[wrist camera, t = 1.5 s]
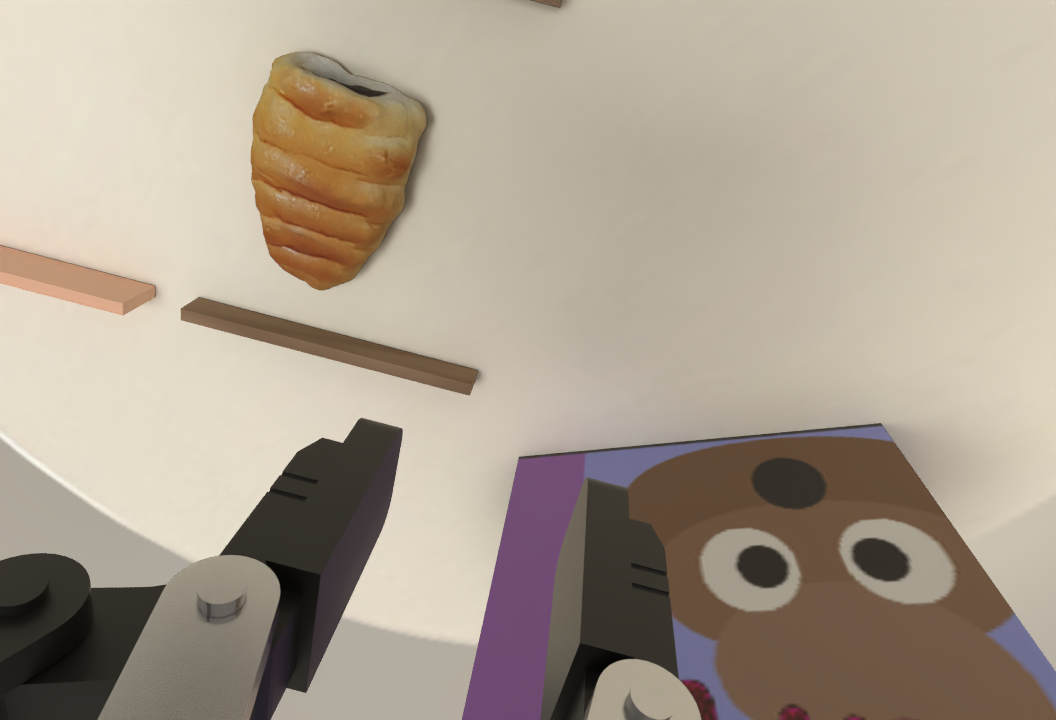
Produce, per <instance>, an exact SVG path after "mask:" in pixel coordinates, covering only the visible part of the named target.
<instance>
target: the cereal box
mask: <svg viewBox="0 0 1056 720" xmlns="http://www.w3.org/2000/svg"><path fill="white" fill-rule="evenodd" d="M586 477H588V478H592V479H596V480H599V481H603V482H607V483H611V484H615V485H619V486H622V487H626V488H627V489H628V498H629V519H633V520H637V521H641V522H645V523H648V524H651V525H652V527H653V529H654V531H655V532H656V534H657V536H658V537H659V539H660V541H661V542H662V544H663V546H664V548H665V555H666V564H667V577H668V583H669V592H670V593H669V598H670V602H671V611H672V620H673V630H674V639H675V648H676V658H677V667H678V675H679V680H680V681H681V682H682V683H683V684H684V686H685V687H686V688H687V689H688V691H689V692H690V693H691V695H692V696H693V698H694V700H695V702H696V704H697V706H698V709H699V712H700V716H701V719H702V720H1056V671H1055V670H1054V669H1053V667H1052V666H1051V664H1050V663H1049V662H1048V660H1047V659H1046V657H1045V656H1044V655H1043V653H1042V652H1041V650H1040V649H1039V647H1038V646H1037V645H1036V643H1035V642H1034V640H1033V639H1032V637H1031V636H1030V635H1029V633H1028V632H1027V630H1026V629H1025V628H1024V626H1023V625H1022V623H1021V622H1020V620H1019V619H1018V617H1017V616H1016V615H1015V613H1014V612H1013V610H1012V609H1011V607H1010V606H1009V605H1008V603H1007V602H1006V600H1005V599H1004V598H1003V596H1002V595H1001V593H1000V592H999V590H998V589H997V588H996V586H995V585H994V583H993V582H992V580H991V579H990V578H989V576H988V575H987V574H986V572H985V571H984V569H983V568H982V566H981V565H980V563H979V562H978V561H977V559H976V558H975V556H974V555H973V554H972V552H971V551H970V549H969V548H968V546H967V545H966V544H965V542H964V541H963V539H962V538H961V536H960V535H959V534H958V532H957V531H956V529H955V528H954V526H953V525H952V524H951V522H950V521H949V519H948V518H947V517H946V515H945V514H944V512H943V511H942V509H941V508H940V507H939V505H938V504H937V502H936V501H935V500H934V498H933V497H932V495H931V494H930V492H929V491H928V490H927V488H926V487H925V485H924V484H923V482H922V481H921V480H920V478H919V477H918V475H917V474H916V473H915V471H914V470H913V468H912V467H911V465H910V464H909V463H908V461H907V460H906V458H905V457H904V455H903V454H902V453H901V451H900V450H899V448H898V447H897V446H896V444H895V443H894V441H893V440H892V438H891V437H890V436H889V434H888V433H887V431H886V430H885V428H884V427H883V426H882V424H881V423H879V424H869V425H858V426H847V427H836V428H826V429H815V430H804V431H793V432H782V433H772V434H761V435H750V436H739V437H729V438H718V439H707V440H696V441H686V442H675V443H664V444H653V445H643V446H632V447H621V448H610V449H599V450H589V451H578V452H567V453H556V454H546V455H535V456H524V457H519V459H518V464H517V469H516V473H515V478H514V482H513V487H512V492H511V496H510V501H509V505H508V510H507V515H506V519H505V524H504V528H503V533H502V538H501V542H500V547H499V551H498V556H497V561H496V565H495V570H494V574H493V579H492V584H491V588H490V593H489V597H488V602H487V607H486V611H485V616H484V620H483V625H482V630H481V634H480V639H479V643H478V648H477V653H476V657H475V662H474V666H473V671H472V676H471V680H470V685H469V689H468V694H467V699H466V703H465V708H464V712H463V717H462V720H540V718H541V708H542V698H543V688H544V679H545V669H546V659H547V649H548V640H549V630H550V620H551V610H552V601H553V591H554V581H555V574H556V568H557V563H558V558H559V554H560V550H561V547H562V543H563V540H564V537H565V534H566V531H567V528H568V525H569V522H570V519H571V517H572V514H573V511H574V508H575V505H576V502H577V499H578V496H579V493H580V490H581V487H582V484H583V482H584V480H585V478H586Z"/></svg>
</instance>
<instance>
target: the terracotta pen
mask: <svg viewBox="0 0 1056 720" xmlns="http://www.w3.org/2000/svg"><path fill="white" fill-rule="evenodd" d="M0 283H1V284H5V285H9V286H13V287H16V288H20V289H24V290H28V291H32V292H36V293H39V294H43V295H47V296H51V297H55V298H59V299H62V300H66V301H70V302H74V303H78V304H81V305H85V306H89V307H93V308H97V309H101V310H104V311H108V312H112V313H116V314H120V315H124V314H126V313H128V312H130V311H131V310H133V309H135V308H137V307H139V306H140V305H142V304H144V303H146V302H147V301H149V300H151V299H153V298H154V297H155V286H153V285H149V284H146V283H142V282H138V281H134V280H130V279H127V278H123V277H119V276H115V275H111V274H107V273H104V272H100V271H96V270H92V269H88V268H85V267H81V266H77V265H73V264H69V263H65V262H62V261H58V260H54V259H50V258H46V257H42V256H39V255H35V254H31V253H27V252H23V251H20V250H16V249H12V248H8V247H4V246H0Z"/></svg>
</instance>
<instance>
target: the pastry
mask: <svg viewBox="0 0 1056 720" xmlns="http://www.w3.org/2000/svg"><path fill="white" fill-rule="evenodd" d="M426 124H427V122H426V113H425V111H424V109H423V107H422V106H421V104H420V103H419V102H417V101H416V100H413V99H411V98H408V97H405V96H404V94H403V93H402V92H400V91H399V90H397V89H396V88H394V87H392V86H390V85H387V84H385V83H383V82H378V81H373V80H370V79H368V78H364V77H360V76H354V75H351V74H349V73H348V72H347V71H345V70H344V69H343V67H342V66H340V65H339V64H338V63H336V62H335V61H333V60H331V59H329V58H325V57H322V56H319V55H317V54H315V53H311V52H295V53H290V54H286V55H283V56H280V57H278V58H276V59H275V60H274V62H273V63H272V70H271V72H270V77H269V80H268V83H267V84H266V85H265V86H264V88H263V92H262V95H261V98H260V101H259V102H258V105H257V107H256V109H255V112H254V114H253V143H252V147H251V164H252V178H251V180H252V184H253V186H254V189H255V192H256V193H255V200H256V206H257V208H258V210H259V212H260V216H261V221H262V227H263V235H264V237H265V241H266V244H267V247H268V250H269V254H270V256H271V257H272V258H273V259H274V260H275V262H276V263H277V264H278V265H279V266H280V267H281V268H282V269H283V270H285V271H287V272H288V273H290V274H292V275H293V276H295V277H297V278H299V279H301V280H303V281H305V282H307V283H308V285H309V286H311V287H312V288H314V289H317V290H326V289H330V288H332V287H334V286H338V285H340V284H343V283H345V282H348V281H350V280H352V279H354V278H355V277H356V275H357V274H358V272H359V270H360V269H361V268H362V266H363V264H364V263H365V261H366V260H367V259H368V258H369V256H370V255H371V254H372V253H373V252H375V251H376V250H377V249H378V248H379V246H380V244H381V242H382V241H383V239H384V237H385V234H386V232H387V230H388V228H389V227H390V225H391V223H392V222H393V220H394V219H395V218H397V217H398V216H399V215H400V213H401V212H402V210H403V207H404V204H405V193H404V189H405V186H406V183H407V180H408V177H409V173H410V171H411V168H412V166H413V164H414V161H415V157H416V154H417V147H418V141H419V138H420V136H421V135H422V133H423V131H424V130H425V128H426Z"/></svg>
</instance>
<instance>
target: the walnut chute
mask: <svg viewBox="0 0 1056 720" xmlns="http://www.w3.org/2000/svg"><path fill="white" fill-rule="evenodd" d="M531 1H535V2H539V3H543V4H546V5H550V6H554V7H558V8H560V5H561V0H531ZM181 320H182V321H186V322H190V323H194V324H198V325H202V326H205V327H209V328H213V329H217V330H221V331H225V332H228V333H232V334H236V335H240V336H244V337H247V338H251V339H255V340H259V341H263V342H267V343H270V344H274V345H278V346H282V347H286V348H290V349H293V350H297V351H301V352H305V353H309V354H312V355H316V356H320V357H324V358H328V359H332V360H335V361H339V362H343V363H347V364H351V365H355V366H358V367H362V368H366V369H370V370H374V371H377V372H381V373H385V374H389V375H393V376H397V377H400V378H404V379H408V380H412V381H416V382H420V383H423V384H427V385H431V386H435V387H439V388H442V389H446V390H450V391H454V392H458V393H462V394H465V395H469V396H470V393H471V391H472V388H473V386H474V383H475V380H476V376H477V371H478V370H474V369H470V368H467V367H463V366H459V365H455V364H451V363H448V362H444V361H440V360H436V359H432V358H428V357H425V356H421V355H417V354H413V353H409V352H406V351H402V350H398V349H394V348H390V347H386V346H383V345H379V344H375V343H371V342H367V341H363V340H360V339H356V338H352V337H348V336H344V335H341V334H337V333H333V332H329V331H325V330H321V329H318V328H314V327H310V326H306V325H302V324H299V323H295V322H291V321H287V320H283V319H279V318H276V317H272V316H268V315H264V314H260V313H256V312H253V311H249V310H245V309H241V308H237V307H234V306H230V305H226V304H222V303H218V302H214V301H211V300H207V299H203V298H197V299H195V300H194V301H192V302H191V303H189V304H187V305H186V306H184V307H183V308H181Z"/></svg>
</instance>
